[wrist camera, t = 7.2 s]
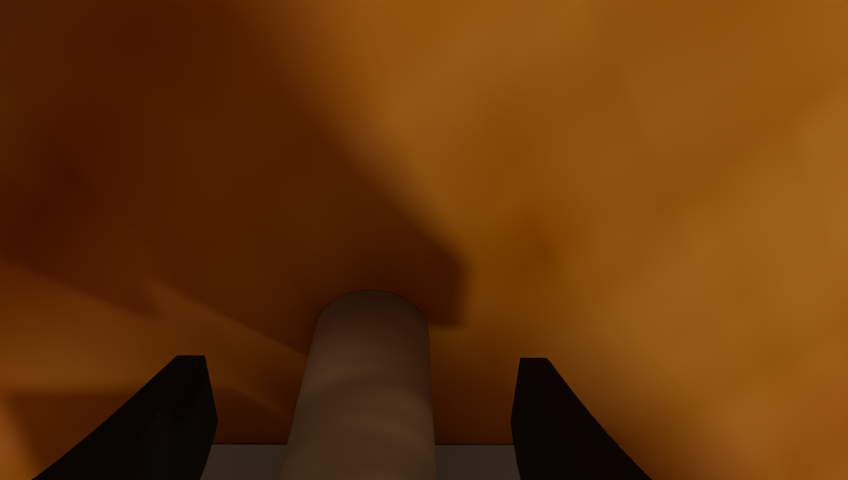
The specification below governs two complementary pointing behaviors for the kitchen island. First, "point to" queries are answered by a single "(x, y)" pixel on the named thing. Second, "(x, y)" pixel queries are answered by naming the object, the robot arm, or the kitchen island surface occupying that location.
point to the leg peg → (365, 395)
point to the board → (455, 464)
